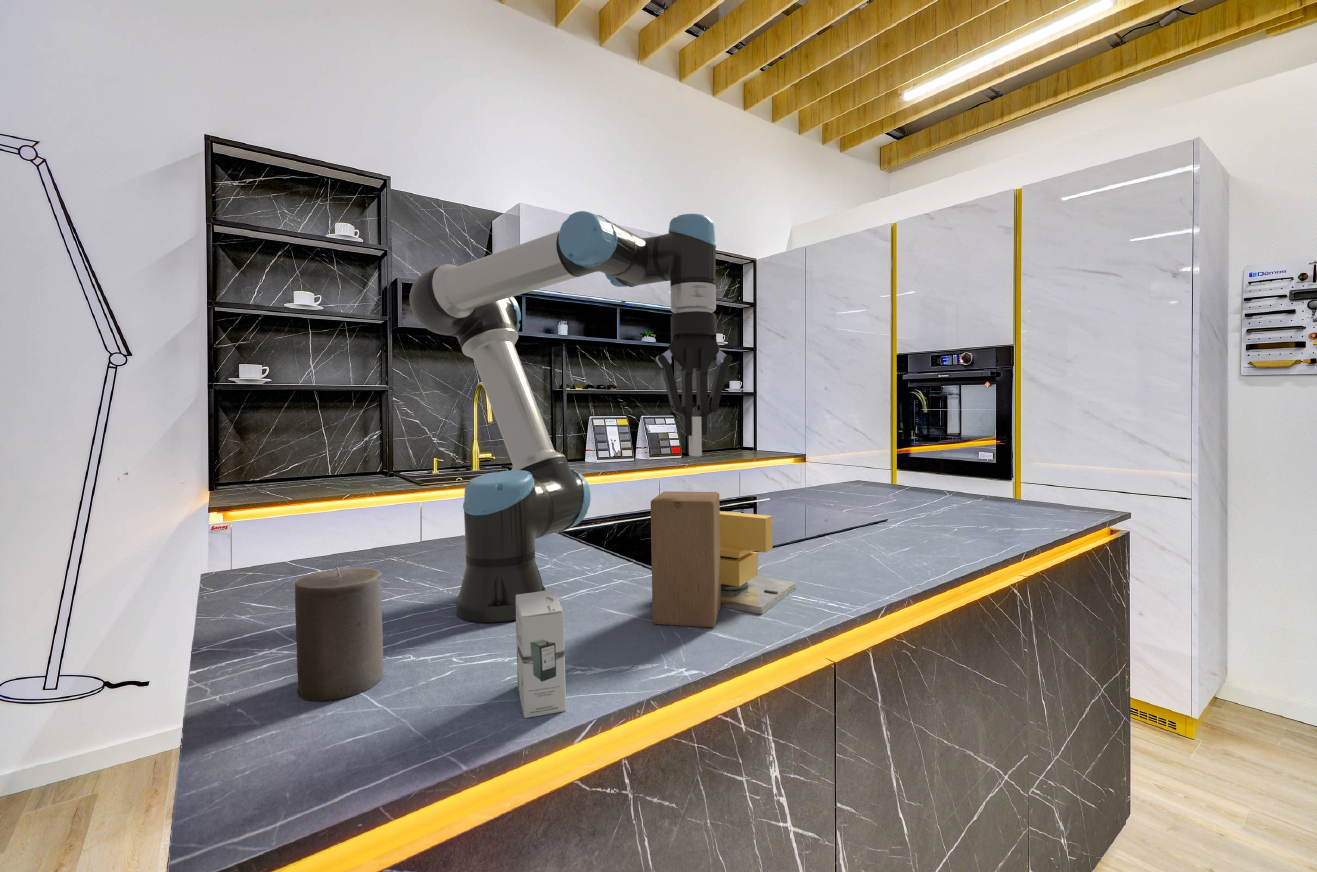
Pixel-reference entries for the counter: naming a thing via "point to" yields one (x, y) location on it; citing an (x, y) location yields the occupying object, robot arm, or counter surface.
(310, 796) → the counter surface
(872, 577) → the counter surface
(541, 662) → the ink box
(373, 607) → the pillar candle
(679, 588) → the wooden block
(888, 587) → the counter surface
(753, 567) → the yellow block with bar
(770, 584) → the base
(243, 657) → the counter surface
